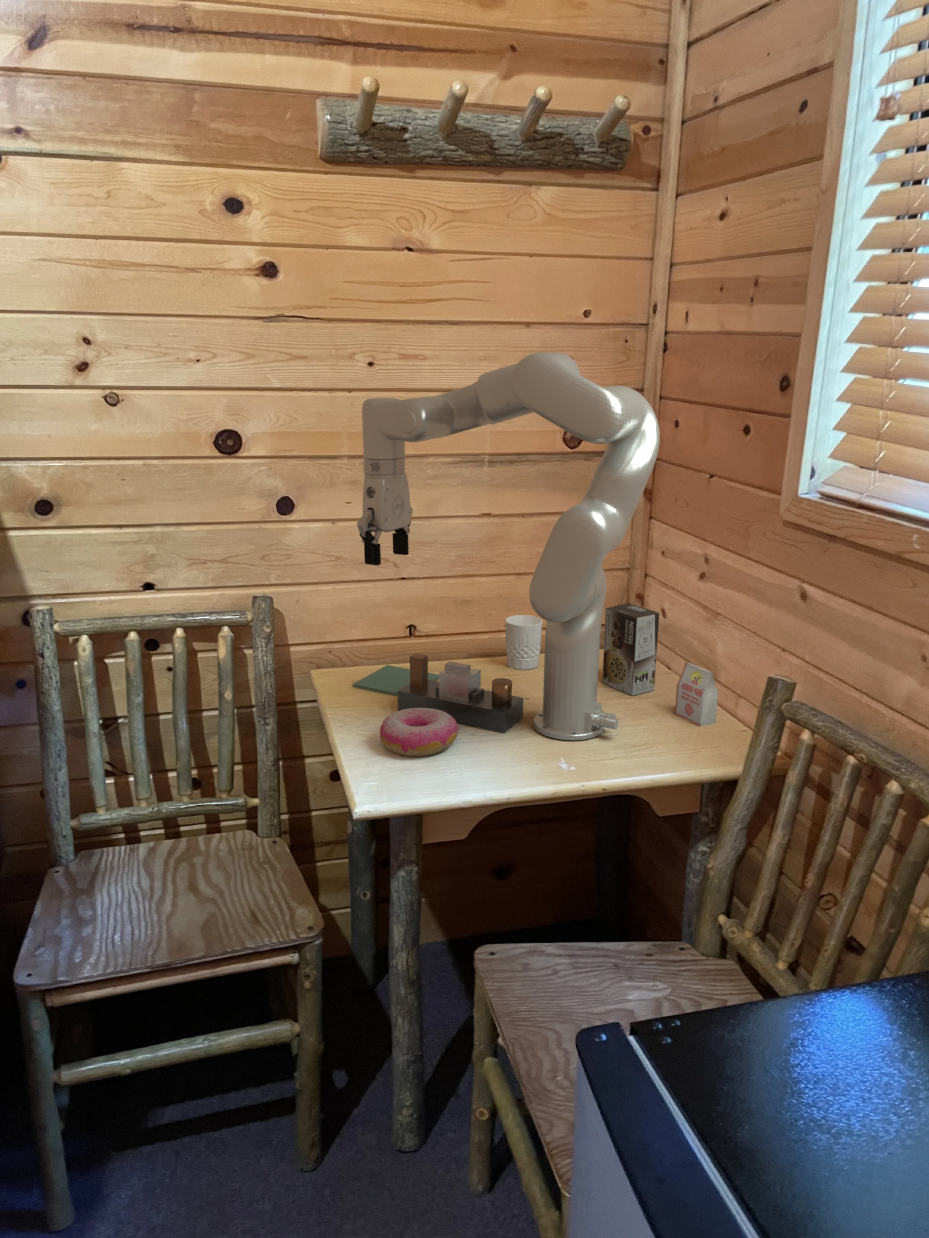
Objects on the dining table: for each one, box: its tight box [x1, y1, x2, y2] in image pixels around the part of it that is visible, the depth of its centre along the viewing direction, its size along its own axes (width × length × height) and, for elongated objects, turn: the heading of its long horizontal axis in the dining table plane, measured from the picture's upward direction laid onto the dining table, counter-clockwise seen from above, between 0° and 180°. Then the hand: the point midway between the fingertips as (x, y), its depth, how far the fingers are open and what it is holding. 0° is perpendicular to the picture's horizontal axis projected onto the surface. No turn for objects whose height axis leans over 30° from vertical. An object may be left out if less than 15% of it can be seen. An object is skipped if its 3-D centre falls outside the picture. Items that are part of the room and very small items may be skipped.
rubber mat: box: [352, 664, 439, 697], centre depth 187 cm, size 13×13×1 cm
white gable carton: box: [674, 661, 719, 727], centre depth 169 cm, size 4×7×10 cm, turn 30°
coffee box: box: [601, 602, 660, 697], centre depth 183 cm, size 9×6×16 cm
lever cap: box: [438, 660, 482, 701], centre depth 169 cm, size 6×5×6 cm
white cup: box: [504, 614, 544, 671], centre depth 197 cm, size 8×8×10 cm
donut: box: [379, 708, 459, 757], centre depth 158 cm, size 14×13×5 cm
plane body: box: [397, 653, 524, 734], centre depth 170 cm, size 22×8×10 cm, turn 63°
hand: (387, 559), depth 173 cm, fingers open, 9 cm apart
